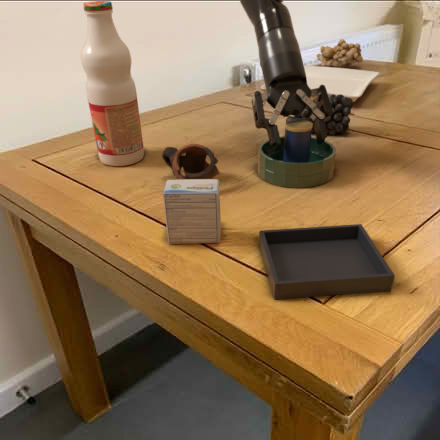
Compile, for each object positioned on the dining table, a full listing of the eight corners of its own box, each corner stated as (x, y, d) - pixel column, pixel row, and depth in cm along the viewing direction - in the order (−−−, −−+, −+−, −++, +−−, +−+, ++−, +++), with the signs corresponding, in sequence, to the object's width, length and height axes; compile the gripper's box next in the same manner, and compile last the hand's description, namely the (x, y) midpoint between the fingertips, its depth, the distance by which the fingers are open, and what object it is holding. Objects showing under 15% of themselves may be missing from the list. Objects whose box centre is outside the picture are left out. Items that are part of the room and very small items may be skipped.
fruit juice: (137, 168, 94) (114, 5, 76) (92, 166, 95) (60, 6, 78) (150, 150, 101) (131, -2, 84) (108, 149, 102) (81, -1, 85)
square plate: (290, 77, 148) (291, 63, 146) (378, 84, 138) (381, 70, 136) (258, 99, 129) (258, 84, 127) (357, 110, 119) (359, 94, 117)
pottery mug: (228, 177, 90) (228, 149, 82) (204, 215, 87) (202, 189, 79) (175, 153, 92) (170, 124, 85) (150, 189, 89) (142, 162, 82)
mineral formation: (341, 60, 164) (373, 65, 153) (312, 73, 160) (343, 78, 149) (340, 35, 159) (374, 38, 148) (310, 47, 155) (342, 51, 144)
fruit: (286, 93, 101) (358, 92, 98) (287, 96, 108) (354, 95, 106) (284, 135, 103) (354, 136, 101) (285, 135, 111) (350, 135, 109)
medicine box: (221, 229, 73) (219, 178, 68) (220, 244, 70) (218, 191, 65) (171, 230, 74) (166, 178, 68) (167, 245, 70) (162, 192, 65)
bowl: (322, 158, 95) (324, 133, 92) (342, 188, 84) (345, 161, 81) (253, 162, 95) (253, 137, 92) (264, 192, 83) (265, 166, 80)
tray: (358, 238, 70) (361, 223, 69) (391, 291, 60) (395, 275, 58) (258, 244, 70) (259, 230, 68) (274, 299, 59) (275, 283, 58)
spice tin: (304, 166, 91) (309, 119, 86) (310, 176, 87) (315, 127, 82) (280, 167, 91) (282, 120, 85) (284, 177, 87) (288, 129, 82)
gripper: (249, 52, 81) (268, 139, 80) (324, 46, 84) (344, 130, 82) (240, 78, 89) (257, 158, 87) (310, 71, 91) (328, 149, 90)
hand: (300, 144), depth 85 cm, fingers open, 8 cm apart
